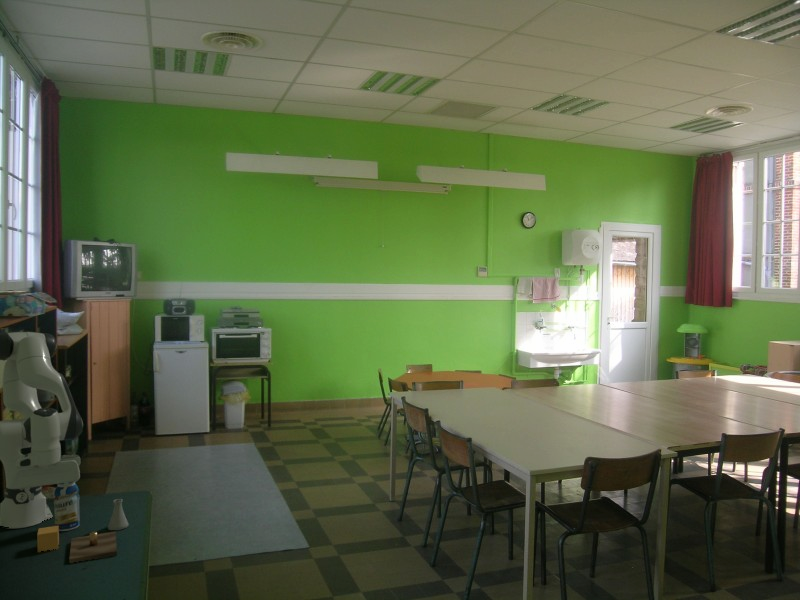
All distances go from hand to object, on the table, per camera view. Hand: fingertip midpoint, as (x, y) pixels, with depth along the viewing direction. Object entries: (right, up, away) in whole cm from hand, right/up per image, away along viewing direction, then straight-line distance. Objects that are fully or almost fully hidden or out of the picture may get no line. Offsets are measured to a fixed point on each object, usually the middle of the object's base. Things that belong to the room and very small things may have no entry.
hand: (47, 497), depth 220 cm
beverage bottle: (-3, -17, +18) cm, 25 cm away
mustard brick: (0, -17, +1) cm, 17 cm away
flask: (+16, -17, +18) cm, 30 cm away
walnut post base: (+16, -17, -1) cm, 23 cm away
